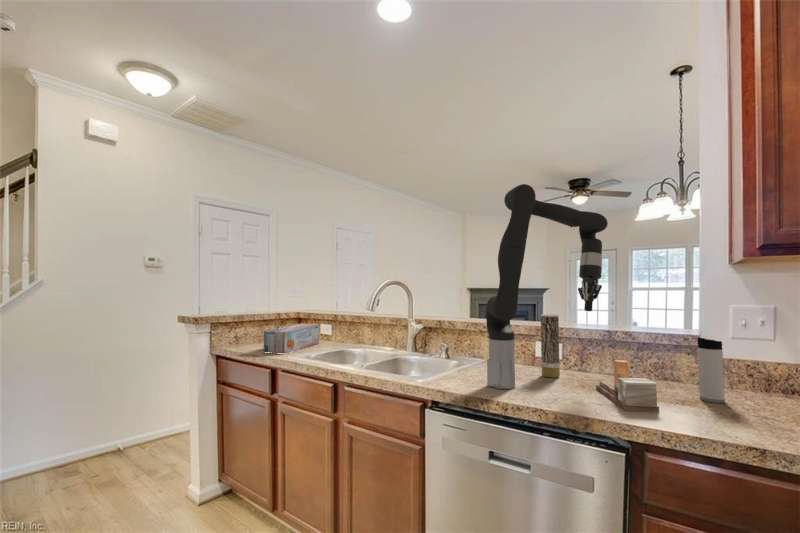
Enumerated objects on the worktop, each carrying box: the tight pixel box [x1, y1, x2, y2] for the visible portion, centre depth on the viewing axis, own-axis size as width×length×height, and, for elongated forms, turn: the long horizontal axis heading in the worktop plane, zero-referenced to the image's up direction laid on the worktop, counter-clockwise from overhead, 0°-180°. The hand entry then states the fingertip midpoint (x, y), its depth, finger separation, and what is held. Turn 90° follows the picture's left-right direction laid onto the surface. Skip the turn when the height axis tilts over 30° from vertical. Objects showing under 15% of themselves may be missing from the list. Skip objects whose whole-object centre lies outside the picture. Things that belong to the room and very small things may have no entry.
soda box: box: [263, 323, 320, 354], centre depth 224 cm, size 41×14×13 cm, turn 165°
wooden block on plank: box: [595, 377, 660, 413], centre depth 123 cm, size 24×9×8 cm, turn 172°
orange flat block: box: [613, 359, 629, 390], centre depth 120 cm, size 13×3×10 cm, turn 172°
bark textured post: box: [540, 313, 561, 379], centre depth 154 cm, size 7×7×25 cm
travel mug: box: [697, 337, 726, 404], centre depth 122 cm, size 6×7×20 cm
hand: (588, 310), depth 141 cm, fingers closed
